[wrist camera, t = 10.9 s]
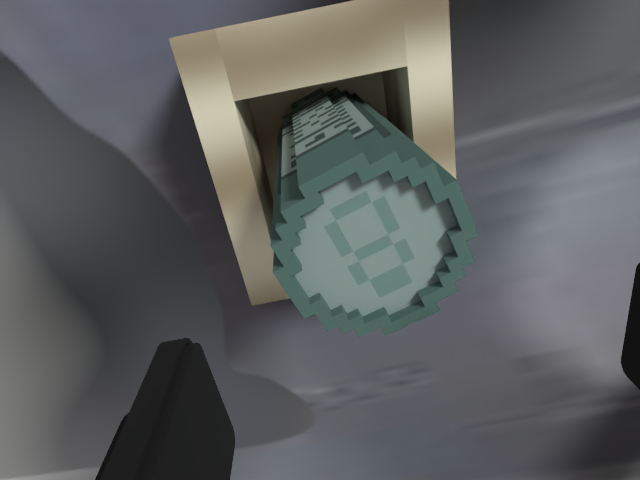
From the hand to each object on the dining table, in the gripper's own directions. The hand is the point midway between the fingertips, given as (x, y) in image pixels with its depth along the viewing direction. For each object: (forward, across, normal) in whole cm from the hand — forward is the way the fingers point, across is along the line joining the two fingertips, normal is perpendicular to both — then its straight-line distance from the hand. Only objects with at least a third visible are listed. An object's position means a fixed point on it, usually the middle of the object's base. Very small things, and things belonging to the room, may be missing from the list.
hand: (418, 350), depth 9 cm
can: (+20, 0, 0) cm, 20 cm away
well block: (+20, +1, 0) cm, 20 cm away
